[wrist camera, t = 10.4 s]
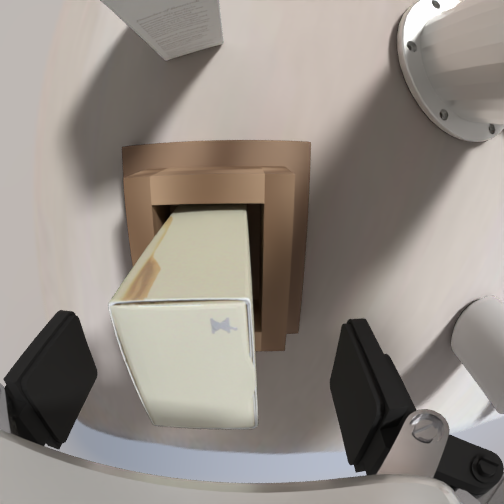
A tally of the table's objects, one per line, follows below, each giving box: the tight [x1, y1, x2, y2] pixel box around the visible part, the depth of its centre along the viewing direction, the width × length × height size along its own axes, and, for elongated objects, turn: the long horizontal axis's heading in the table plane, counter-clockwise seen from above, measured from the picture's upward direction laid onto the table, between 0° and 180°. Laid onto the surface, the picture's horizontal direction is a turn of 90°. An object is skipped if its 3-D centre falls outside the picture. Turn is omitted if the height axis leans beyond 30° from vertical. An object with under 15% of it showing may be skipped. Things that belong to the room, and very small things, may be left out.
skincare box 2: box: [108, 203, 258, 430], centre depth 15 cm, size 6×4×12 cm
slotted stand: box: [122, 140, 311, 351], centre depth 19 cm, size 12×14×6 cm
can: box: [451, 296, 504, 414], centre depth 20 cm, size 8×8×12 cm
